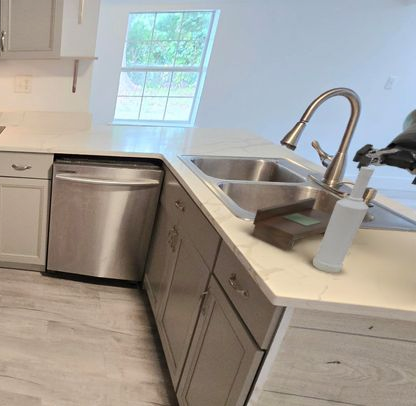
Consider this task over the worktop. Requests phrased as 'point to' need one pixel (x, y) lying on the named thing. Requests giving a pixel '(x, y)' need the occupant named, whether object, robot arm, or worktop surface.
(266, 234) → the shelf
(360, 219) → the bottle
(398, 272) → the worktop surface
